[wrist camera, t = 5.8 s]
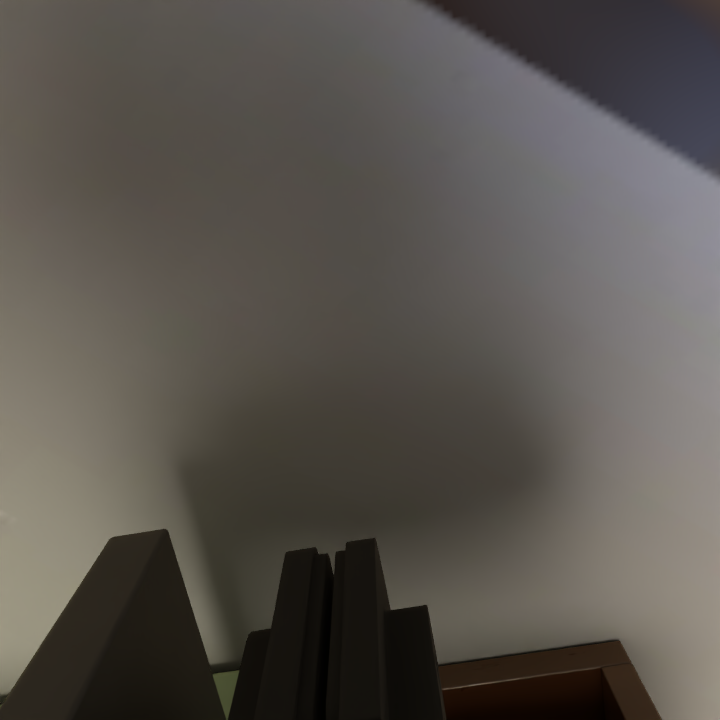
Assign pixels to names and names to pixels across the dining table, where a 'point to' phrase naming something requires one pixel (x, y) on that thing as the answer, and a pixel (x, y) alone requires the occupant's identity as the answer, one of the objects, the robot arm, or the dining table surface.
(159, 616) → the sliding door
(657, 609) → the dining table surface
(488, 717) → the cupboard
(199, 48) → the dining table surface
